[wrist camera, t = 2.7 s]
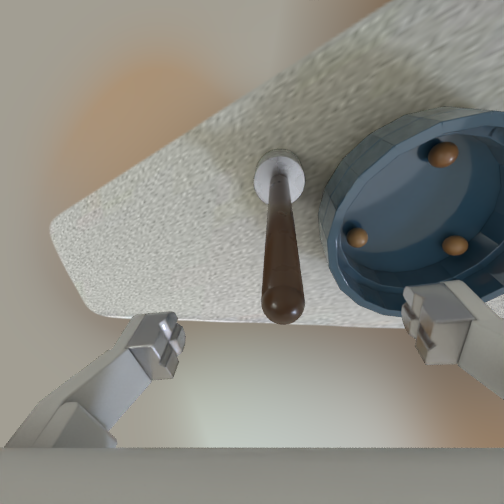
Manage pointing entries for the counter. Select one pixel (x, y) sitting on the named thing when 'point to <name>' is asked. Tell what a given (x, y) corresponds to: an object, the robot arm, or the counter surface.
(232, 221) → the counter surface
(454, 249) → the bead
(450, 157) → the bead
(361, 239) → the bead
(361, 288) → the bowl
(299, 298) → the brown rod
